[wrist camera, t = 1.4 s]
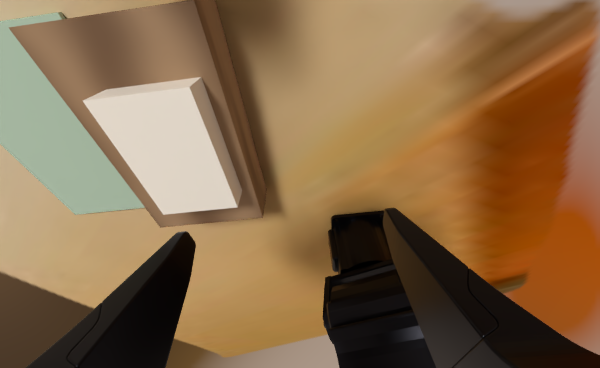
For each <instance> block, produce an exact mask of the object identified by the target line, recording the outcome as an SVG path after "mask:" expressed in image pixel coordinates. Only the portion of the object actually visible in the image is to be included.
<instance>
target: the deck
mask: <svg viewBox="0 0 600 368" xmlns="http://www.w3.org/2000/svg"><path fill="white" fill-rule="evenodd" d="M9 29H10V31H11V32H12V33H13V35H14V36H15V37H16V39H17V40H18V41H19V42H20V44H21V45H22V46H23V48H24V49H25V50H26V52H27V53H28V54H29V56H30V57H31V58H32V60H33V61H34V62H35V63H36V65H37V66H38V67H39V69H40V70H41V71H42V73H43V74H44V75H45V77H46V78H47V79H48V81H49V82H50V83H51V84H52V86H53V87H54V88H55V90H56V91H57V92H58V94H59V95H60V96H61V98H62V99H63V100H64V102H65V103H66V104H67V106H68V107H69V108H70V109H71V111H72V112H73V113H74V115H75V116H76V117H77V119H78V120H79V121H80V123H81V124H82V125H83V127H84V128H85V129H86V130H87V132H88V133H89V134H90V136H91V137H92V138H93V140H94V141H95V142H96V144H97V145H98V146H99V148H100V149H101V150H102V151H103V153H104V154H105V155H106V157H107V158H108V159H109V161H110V162H111V163H112V165H113V166H114V167H115V169H116V170H117V171H118V173H119V174H120V175H121V176H122V178H123V179H124V180H125V182H126V183H127V184H128V186H129V187H130V188H131V190H132V191H133V192H134V194H135V195H136V196H137V197H138V199H139V200H140V201H141V203H142V204H143V205H144V207H145V208H146V209H147V211H148V212H149V213H150V215H151V216H152V217H153V218H154V220H155V221H156V222H157V224H158V225H159V226H160V227H170V226H181V225H191V224H202V223H212V222H223V221H233V220H244V219H254V218H263V212H264V205H265V198H266V191H267V189H266V186H265V182H264V178H263V175H262V171H261V167H260V164H259V160H258V156H257V153H256V149H255V145H254V141H253V138H252V134H251V130H250V127H249V123H248V119H247V116H246V112H245V108H244V105H243V101H242V97H241V93H240V90H239V86H238V82H237V79H236V75H235V71H234V68H233V64H232V60H231V57H230V53H229V49H228V45H227V42H226V38H225V34H224V31H223V27H222V23H221V20H220V16H219V12H218V9H217V5H216V1H215V0H189V1H182V2H175V3H169V4H162V5H155V6H149V7H142V8H135V9H129V10H122V11H115V12H109V13H102V14H95V15H89V16H82V17H75V18H69V19H62V20H55V21H49V22H42V23H35V24H29V25H22V26H15V27H9ZM198 77H201V78H202V81H203V83H204V86H205V89H206V92H207V94H208V97H209V100H210V103H211V106H212V108H213V111H214V114H215V117H216V119H217V122H218V125H219V128H220V130H221V133H222V136H223V139H224V142H225V144H226V147H227V150H228V153H229V155H230V158H231V161H232V164H233V167H234V169H235V172H236V175H237V178H238V180H239V183H240V186H241V189H242V193H241V197H240V201H239V204H238V207H237V208H226V209H216V210H206V211H196V212H186V213H176V214H166V215H163V214H162V212H161V211H160V209H159V208H158V207H157V205H156V204H155V202H154V201H153V199H152V198H151V197H150V195H149V194H148V192H147V191H146V190H145V188H144V187H143V185H142V184H141V183H140V181H139V180H138V178H137V177H136V176H135V174H134V173H133V171H132V170H131V168H130V167H129V166H128V164H127V163H126V161H125V160H124V159H123V157H122V156H121V154H120V153H119V152H118V150H117V149H116V147H115V146H114V145H113V143H112V142H111V140H110V139H109V138H108V136H107V135H106V133H105V132H104V130H103V129H102V128H101V126H100V125H99V123H98V122H97V121H96V119H95V118H94V116H93V115H92V114H91V112H90V111H89V109H88V108H87V107H86V105H85V104H84V102H83V100H85V99H87V98H89V97H91V96H94V95H96V94H98V93H100V92H102V91H104V90H106V89H114V88H122V87H129V86H137V85H145V84H152V83H160V82H167V81H175V80H183V79H190V78H198Z"/></svg>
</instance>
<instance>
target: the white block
mask: <svg viewBox="0 0 600 368" xmlns="http://www.w3.org/2000/svg"><path fill="white" fill-rule="evenodd" d="M83 102H84V104H85V105H86V107H87V108H88V109H89V111H90V112H91V114H92V115H93V116H94V118H95V119H96V121H97V122H98V123H99V125H100V126H101V128H102V129H103V130H104V132H105V133H106V135H107V136H108V138H109V139H110V140H111V142H112V143H113V145H114V146H115V147H116V149H117V150H118V152H119V153H120V154H121V156H122V157H123V159H124V160H125V161H126V163H127V164H128V166H129V167H130V168H131V170H132V171H133V173H134V174H135V176H136V177H137V178H138V180H139V181H140V183H141V184H142V185H143V187H144V188H145V190H146V191H147V192H148V194H149V195H150V197H151V198H152V199H153V201H154V202H155V204H156V205H157V207H158V208H159V209H160V211H161V212H162V214H163V215H166V214H176V213H186V212H196V211H206V210H216V209H226V208H237V207H238V204H239V201H240V197H241V193H242V189H241V186H240V183H239V180H238V178H237V175H236V172H235V169H234V167H233V164H232V161H231V158H230V155H229V153H228V150H227V147H226V144H225V142H224V139H223V136H222V133H221V130H220V128H219V125H218V122H217V119H216V117H215V114H214V111H213V108H212V106H211V103H210V100H209V97H208V94H207V92H206V89H205V86H204V83H203V81H202V78H201V77H198V78H190V79H183V80H175V81H167V82H160V83H152V84H145V85H137V86H129V87H122V88H114V89H106V90H104V91H102V92H100V93H98V94H96V95H94V96H91V97H89V98H87V99H85V100H83Z"/></svg>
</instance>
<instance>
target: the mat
mask: <svg viewBox="0 0 600 368" xmlns="http://www.w3.org/2000/svg"><path fill="white" fill-rule="evenodd" d="M62 19H65V17H64V16H63V14H62V13H61V12H60V13H52V14H45V15H39V16H32V17H25V18H19V19H12V20H6V21H0V144H1V145H2V146H3V147H4V148H5V149H6V150H7V151H8V152H9V153H10V154H11V155H12V156H13V157H15V158H16V159H17V160H18V161H19V162H20V163H21V164H22V165H23V166H24V167H25V168H26V169H27V170H28V171H29V172H30V173H32V174H33V175H34V176H35V177H36V178H37V179H38V180H39V181H40V182H41V183H42V184H43V185H44V186H45V187H46V188H47V189H49V190H50V191H51V192H52V193H53V194H54V195H55V196H56V197H57V198H58V199H59V200H60V201H61V202H62V203H63V204H64V205H66V206H67V207H68V208H69V209H70V210H71V211H72V212H73V213H74V214H75V215H77V214H87V213H97V212H107V211H117V210H127V209H137V208H145V207H144V205H143V204H142V203H141V201H140V200H139V199H138V197H137V196H136V195H135V194H134V192H133V191H132V190H131V188H130V187H129V186H128V184H127V183H126V182H125V180H124V179H123V178H122V176H121V175H120V174H119V173H118V171H117V170H116V169H115V167H114V166H113V165H112V163H111V162H110V161H109V159H108V158H107V157H106V155H105V154H104V153H103V151H102V150H101V149H100V148H99V146H98V145H97V144H96V142H95V141H94V140H93V138H92V137H91V136H90V134H89V133H88V132H87V130H86V129H85V128H84V127H83V125H82V124H81V123H80V121H79V120H78V119H77V117H76V116H75V115H74V113H73V112H72V111H71V109H70V108H69V107H68V106H67V104H66V103H65V102H64V100H63V99H62V98H61V96H60V95H59V94H58V92H57V91H56V90H55V88H54V87H53V86H52V84H51V83H50V82H49V81H48V79H47V78H46V77H45V75H44V74H43V73H42V71H41V70H40V69H39V67H38V66H37V65H36V63H35V62H34V61H33V60H32V58H31V57H30V56H29V54H28V53H27V52H26V50H25V49H24V48H23V46H22V45H21V44H20V42H19V41H18V40H17V39H16V37H15V36H14V35H13V33H12V32H11V31H10V29H9V27H15V26H22V25H29V24H35V23H42V22H49V21H55V20H62Z"/></svg>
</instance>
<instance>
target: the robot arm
mask: <svg viewBox="0 0 600 368" xmlns="http://www.w3.org/2000/svg"><path fill="white" fill-rule="evenodd" d="M335 219H336V220H335ZM331 228H332V230H329V231H328V236H329V247H330V254H331V261H332V268H333V271H334V272H338V273H339V274H338V275H335V276H328V277H325V287H324V305H323V320H324V327H325V328H326V330H327V333H328V336H329V338H330V340H331V341H332V343H333V344H334V346H335V350H336V353H337V357H338V362H339V367H340V368H600V355H598V354H595V353H593V352H591V351H589V350H587V349H585V348H583V347H581V346H579V345H577V344H575V343H574V342H572V341H570V340H569V339H567V338H565V337H564V336H562V335H561V334H559V333H558V332H556V331H555V330H553V329H552V328H551V327H549V326H548V325H546V324H545V323H543V322H542V321H541V320H539V319H538V318H536V317H535V316H533V315H532V314H530V313H529V312H528V311H526V310H525V309H523V308H522V307H520V306H519V305H518V304H516V303H515V302H513V301H512V300H511V299H509V298H508V297H506V296H505V295H504V294H502V293H501V292H499V291H498V290H497V289H495V288H494V287H493V286H491V285H490V284H489V283H488V282H486V281H485V280H484V279H482V278H481V277H480V276H479V275H477V274H476V273H475V272H474V271H472V270H471V269H468V267H467V266H466V265H465V264H464V263H462V262H461V261H460V260H459V259H458V258H456V257H455V256H454V255H453V254H451V253H450V252H449V251H448V250H446V249H445V248H444V247H443V246H442V245H440V244H439V243H438V242H437V241H435V240H434V239H433V238H432V237H430V236H429V235H428V234H427V233H426V232H424V231H423V230H422V229H421V228H419V227H418V226H417V225H416V224H414V223H413V222H412V221H411V220H409V219H408V218H407V217H406V216H405V215H403V214H402V213H401V212H400V211H398V210H397V209H396V208H387V209H385V210H384V211H375V212H365V213H354V214H344V215H334V216H332V217H331ZM195 248H196V244H195V241H194V240H193V239H192V237H191V236H190V234H189V233H188V232H186V231H185V232H178V233H176V234H175V235H174V236H173V237H172V238H171V239H170V240H168V241H167V242H166V243H165V244H164V245H163V246H162V247H161V248H160V249H159V250H158V251H157V252H155V253H154V254H153V255H152V256H151V257H150V258H149V259H148V260H147V261H146V262H145V263H144V264H142V265H141V266H140V267H139V268H138V269H137V270H136V271H135V272H134V273H133V274H132V275H131V276H130V277H128V278H127V279H126V280H125V281H124V282H123V283H122V284H121V285H120V286H119V287H118V288H117V289H115V290H114V291H113V292H112V293H111V294H110V295H109V296H108V297H107V298H106V299H105V300H104V301H103V302H102V303H100V304H99V305H98V306H97V307H96V308H95V309H94V310H93V311H92V312H91V313H89V314H88V315H87V316H86V317H85V318H84V319H83V320H82V321H81V322H79V323H78V324H77V325H76V326H75V327H74V328H72V329H71V330H70V331H69V332H68V333H67V334H65V335H64V336H63V337H62V338H61V339H59V340H58V341H57V342H56V343H55V344H54V345H52V346H51V347H50V348H49V349H48V350H46V351H45V352H44V353H43V354H42V355H40V356H39V357H38V358H37V359H36V360H34V361H33V362H32V363H31V364H30V365H28V366H27V367H26V368H165V367H166V364H167V360H168V356H169V353H170V349H171V346H172V342H173V339H174V335H175V332H176V328H177V324H178V321H179V317H180V314H181V310H182V307H183V303H184V299H185V296H186V292H187V289H188V285H189V281H190V277H191V272H192V266H193V260H194V254H195Z"/></svg>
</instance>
